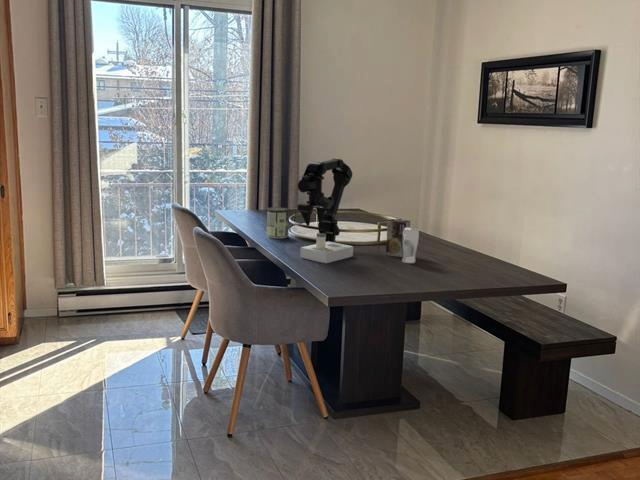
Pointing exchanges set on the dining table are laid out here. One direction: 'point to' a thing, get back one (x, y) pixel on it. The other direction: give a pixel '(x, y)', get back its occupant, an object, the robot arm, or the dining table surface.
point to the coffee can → (277, 222)
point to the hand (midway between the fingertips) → (314, 224)
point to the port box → (327, 252)
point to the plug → (320, 241)
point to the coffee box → (395, 237)
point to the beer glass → (410, 244)
